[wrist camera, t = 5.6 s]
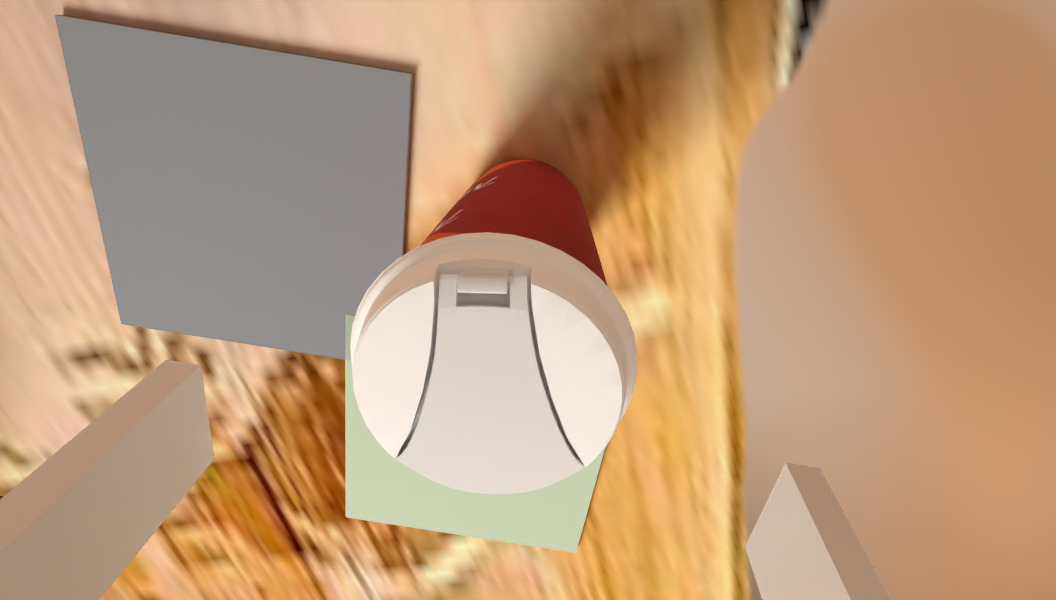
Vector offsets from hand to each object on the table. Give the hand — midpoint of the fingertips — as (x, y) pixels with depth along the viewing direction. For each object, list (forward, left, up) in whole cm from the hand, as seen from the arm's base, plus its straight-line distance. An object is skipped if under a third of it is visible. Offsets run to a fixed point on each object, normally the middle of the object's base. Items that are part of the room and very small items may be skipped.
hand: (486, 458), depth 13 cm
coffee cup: (0, 0, -17) cm, 17 cm away
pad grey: (-14, -2, -17) cm, 23 cm away
